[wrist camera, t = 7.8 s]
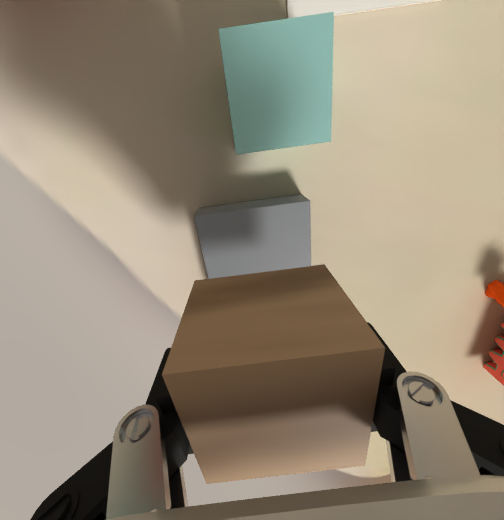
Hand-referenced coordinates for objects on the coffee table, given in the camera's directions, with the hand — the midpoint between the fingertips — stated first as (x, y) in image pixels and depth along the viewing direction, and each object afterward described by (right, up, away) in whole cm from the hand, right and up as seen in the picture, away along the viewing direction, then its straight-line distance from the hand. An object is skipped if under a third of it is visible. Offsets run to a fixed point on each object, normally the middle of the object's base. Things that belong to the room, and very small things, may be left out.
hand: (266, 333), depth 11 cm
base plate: (0, +5, +9) cm, 10 cm away
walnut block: (0, 0, +1) cm, 1 cm away
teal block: (0, +14, +4) cm, 15 cm away
